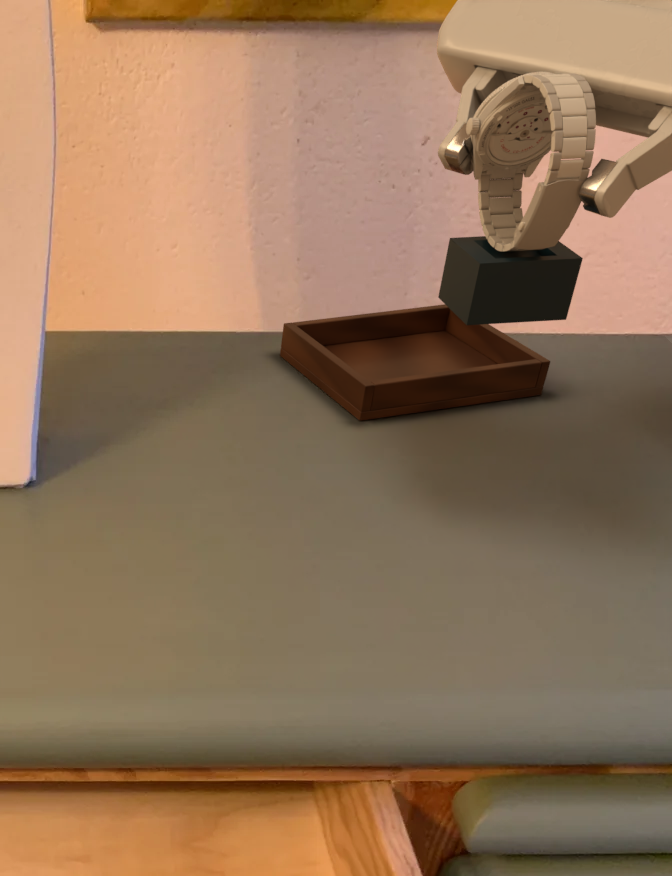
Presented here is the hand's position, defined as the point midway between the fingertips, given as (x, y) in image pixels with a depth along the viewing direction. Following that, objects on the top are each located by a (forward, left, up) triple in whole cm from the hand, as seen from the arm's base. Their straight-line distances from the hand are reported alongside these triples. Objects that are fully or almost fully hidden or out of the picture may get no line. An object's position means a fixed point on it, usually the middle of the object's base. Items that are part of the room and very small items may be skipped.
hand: (517, 184), depth 59 cm
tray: (-7, -17, -17) cm, 25 cm away
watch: (-1, 0, -6) cm, 6 cm away
